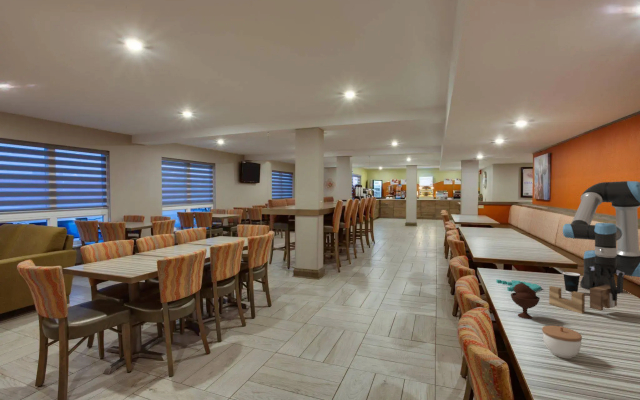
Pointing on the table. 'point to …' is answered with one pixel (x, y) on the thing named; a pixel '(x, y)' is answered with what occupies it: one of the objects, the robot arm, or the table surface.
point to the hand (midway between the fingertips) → (605, 305)
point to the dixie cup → (571, 281)
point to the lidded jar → (562, 341)
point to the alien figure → (515, 282)
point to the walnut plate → (600, 297)
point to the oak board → (574, 304)
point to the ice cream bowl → (524, 299)
